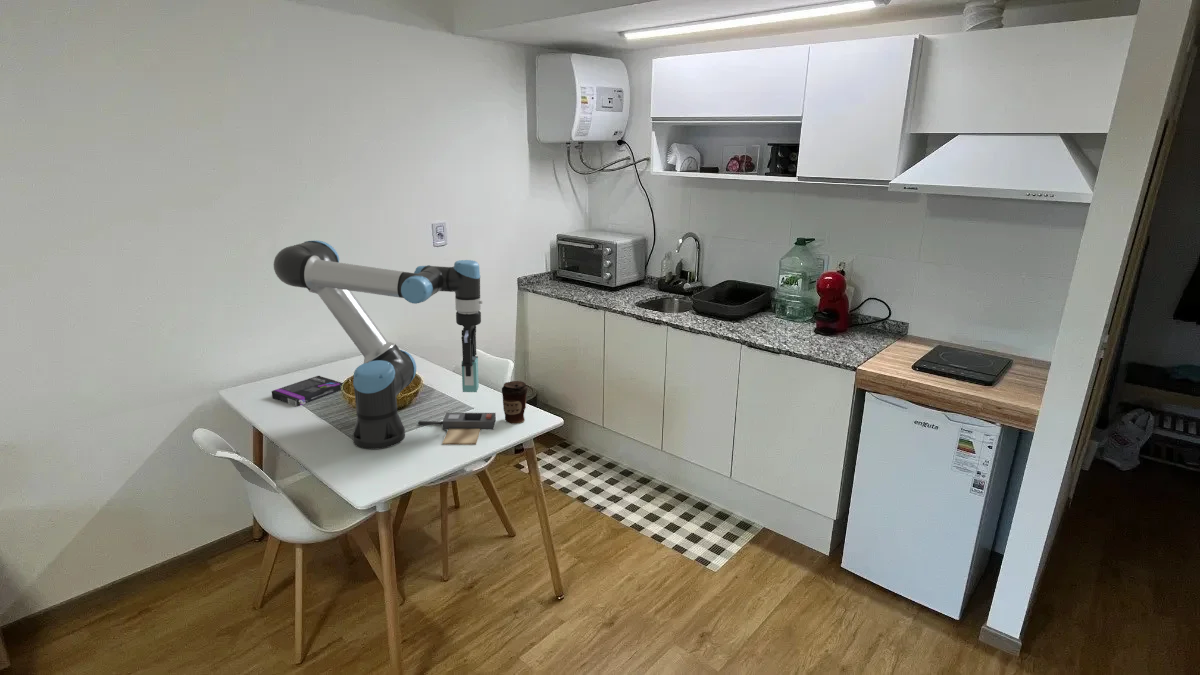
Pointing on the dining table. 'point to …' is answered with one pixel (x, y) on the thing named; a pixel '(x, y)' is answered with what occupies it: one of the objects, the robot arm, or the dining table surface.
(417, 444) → the dining table surface
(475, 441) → the pad
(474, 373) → the block
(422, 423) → the strip
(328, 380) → the box
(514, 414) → the coffee cup
